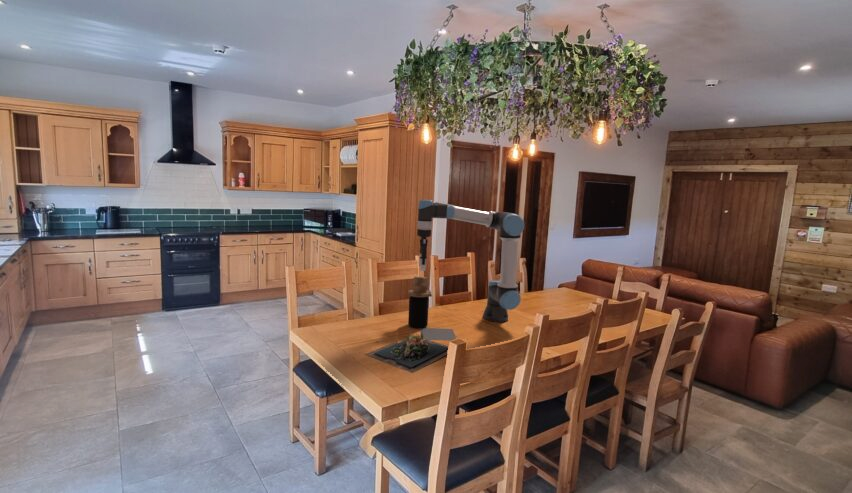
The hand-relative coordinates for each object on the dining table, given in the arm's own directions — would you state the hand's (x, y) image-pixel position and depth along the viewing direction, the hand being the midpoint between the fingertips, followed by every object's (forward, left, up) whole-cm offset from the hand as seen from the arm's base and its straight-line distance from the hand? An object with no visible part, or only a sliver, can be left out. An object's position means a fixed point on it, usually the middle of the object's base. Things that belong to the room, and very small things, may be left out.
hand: (422, 268), depth 238 cm
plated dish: (+4, +37, -33) cm, 50 cm away
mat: (-10, +12, -33) cm, 36 cm away
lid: (0, 0, -15) cm, 15 cm away
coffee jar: (0, 0, -33) cm, 33 cm away
